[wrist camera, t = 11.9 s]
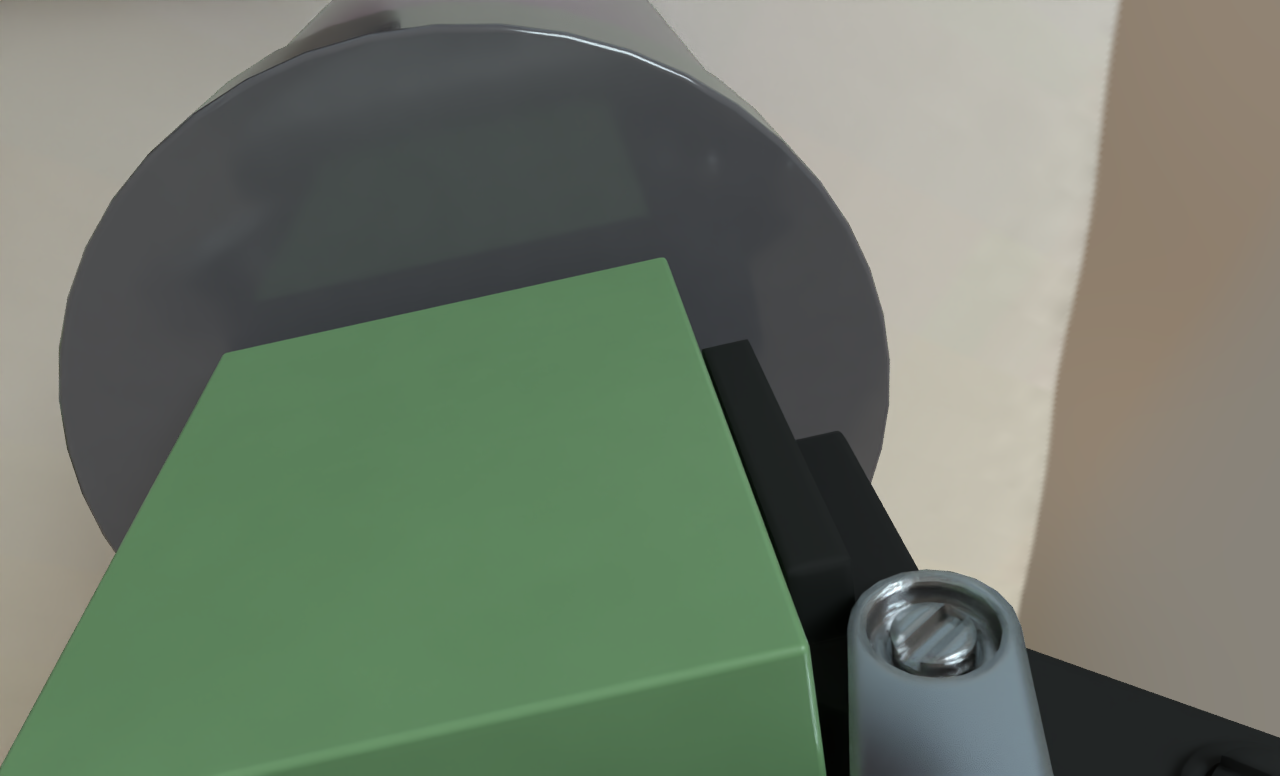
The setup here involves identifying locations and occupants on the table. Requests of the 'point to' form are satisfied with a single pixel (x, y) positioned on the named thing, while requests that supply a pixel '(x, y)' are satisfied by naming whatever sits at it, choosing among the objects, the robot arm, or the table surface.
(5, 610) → the table surface
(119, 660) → the green block
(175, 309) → the jar
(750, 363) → the robot arm
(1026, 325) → the table surface
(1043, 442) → the table surface
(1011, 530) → the table surface
